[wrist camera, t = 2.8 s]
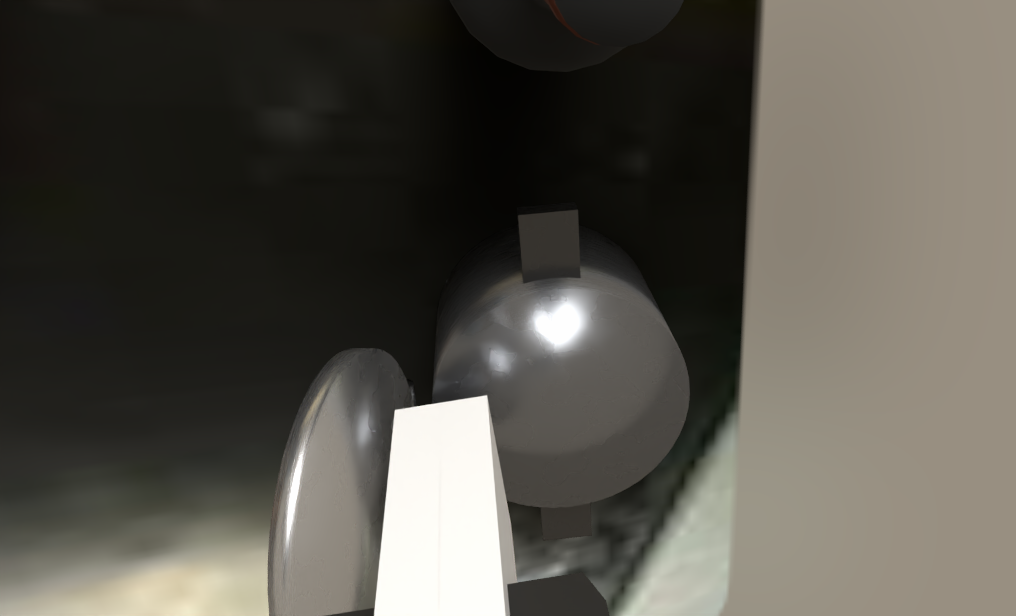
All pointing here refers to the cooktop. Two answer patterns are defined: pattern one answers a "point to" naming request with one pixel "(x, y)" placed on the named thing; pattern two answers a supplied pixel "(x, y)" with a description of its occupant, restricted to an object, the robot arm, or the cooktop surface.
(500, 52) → the wine bottle
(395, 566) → the robot arm
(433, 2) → the cooktop surface
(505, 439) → the pot
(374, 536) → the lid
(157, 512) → the cooktop surface
